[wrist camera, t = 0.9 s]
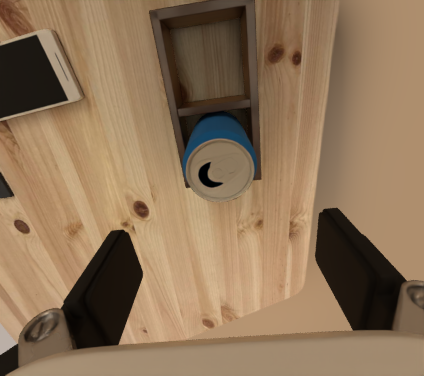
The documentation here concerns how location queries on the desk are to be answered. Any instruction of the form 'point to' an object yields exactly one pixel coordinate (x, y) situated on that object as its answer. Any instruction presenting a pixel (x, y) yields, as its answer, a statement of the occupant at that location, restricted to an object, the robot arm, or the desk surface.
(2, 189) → the mat
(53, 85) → the smartphone
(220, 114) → the beverage can
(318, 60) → the desk surface
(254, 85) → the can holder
